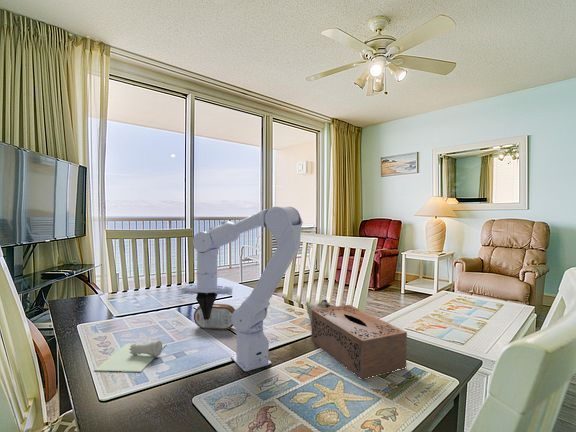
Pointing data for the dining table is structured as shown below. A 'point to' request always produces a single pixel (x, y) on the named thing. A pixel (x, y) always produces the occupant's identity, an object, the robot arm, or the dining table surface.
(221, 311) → the tin
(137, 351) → the rook chess piece
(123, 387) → the dining table surface
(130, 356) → the mat
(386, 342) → the tissue box cover
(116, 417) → the dining table surface
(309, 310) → the ceramic sculpture
